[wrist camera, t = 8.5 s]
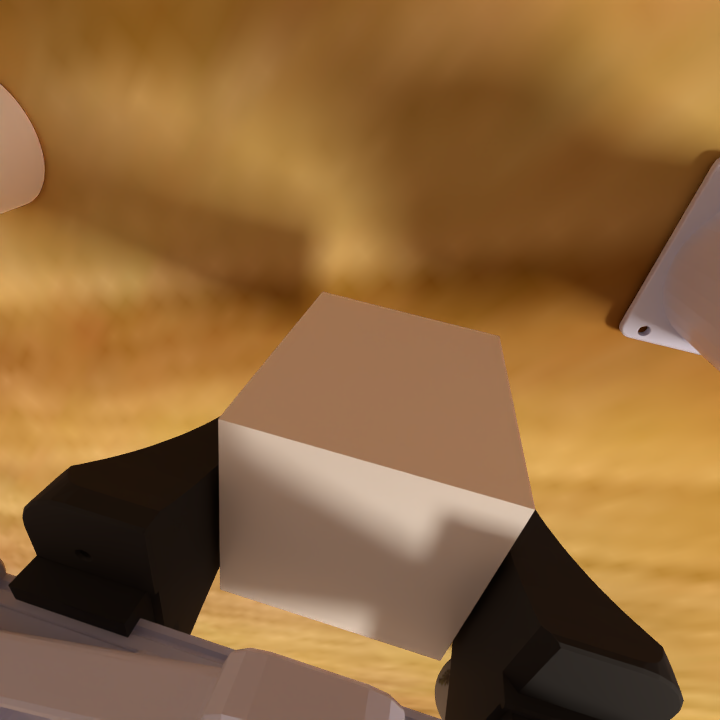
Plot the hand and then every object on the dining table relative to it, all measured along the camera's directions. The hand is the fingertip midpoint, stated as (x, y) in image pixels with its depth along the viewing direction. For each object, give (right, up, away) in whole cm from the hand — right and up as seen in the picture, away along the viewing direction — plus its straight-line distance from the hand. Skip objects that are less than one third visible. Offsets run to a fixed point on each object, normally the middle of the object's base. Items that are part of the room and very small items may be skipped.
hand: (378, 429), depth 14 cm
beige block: (0, +1, +1) cm, 2 cm away
